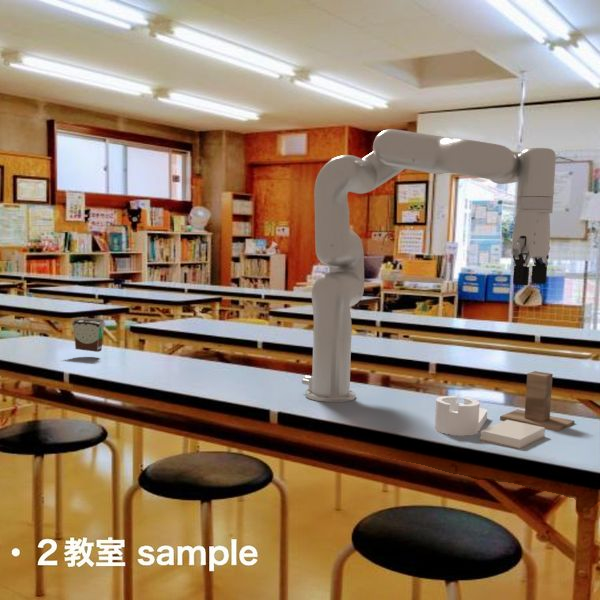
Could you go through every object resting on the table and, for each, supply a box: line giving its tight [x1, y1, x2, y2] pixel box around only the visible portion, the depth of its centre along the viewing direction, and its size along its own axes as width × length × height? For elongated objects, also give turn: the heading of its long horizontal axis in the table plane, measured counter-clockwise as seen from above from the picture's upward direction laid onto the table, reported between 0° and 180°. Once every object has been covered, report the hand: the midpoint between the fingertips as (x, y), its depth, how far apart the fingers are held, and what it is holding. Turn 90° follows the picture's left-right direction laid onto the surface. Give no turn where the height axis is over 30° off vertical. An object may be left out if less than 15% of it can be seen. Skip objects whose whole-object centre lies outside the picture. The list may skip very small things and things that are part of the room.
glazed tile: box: [479, 420, 546, 450], centre depth 134 cm, size 8×2×12 cm
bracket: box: [434, 395, 488, 437], centre depth 145 cm, size 20×9×7 cm, turn 156°
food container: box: [71, 317, 107, 353], centre depth 226 cm, size 12×6×10 cm, turn 65°
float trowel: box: [499, 370, 575, 432], centre depth 148 cm, size 9×13×11 cm
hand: (529, 284), depth 149 cm, fingers open, 9 cm apart
